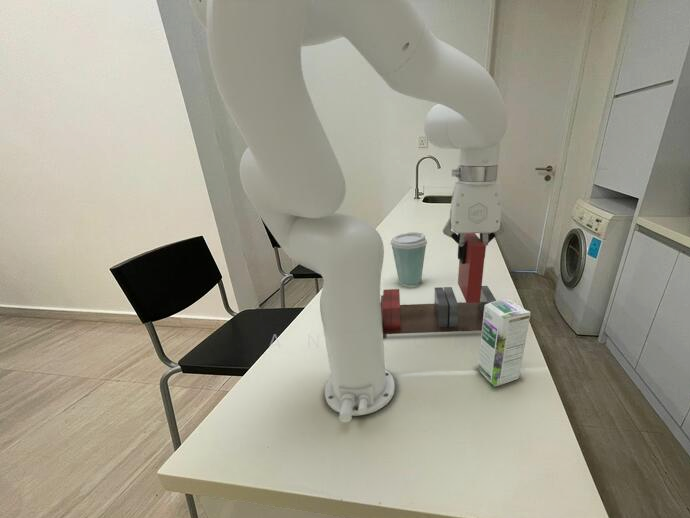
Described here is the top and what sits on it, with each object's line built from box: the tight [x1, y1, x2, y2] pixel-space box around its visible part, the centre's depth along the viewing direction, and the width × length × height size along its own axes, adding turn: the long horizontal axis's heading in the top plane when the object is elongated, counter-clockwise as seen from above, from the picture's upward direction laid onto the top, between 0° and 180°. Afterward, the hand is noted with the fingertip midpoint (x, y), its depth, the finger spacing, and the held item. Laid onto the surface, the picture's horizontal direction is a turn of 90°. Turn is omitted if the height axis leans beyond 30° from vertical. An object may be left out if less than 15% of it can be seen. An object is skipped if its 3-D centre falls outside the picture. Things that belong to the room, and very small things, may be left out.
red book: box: [457, 233, 487, 303], centre depth 75 cm, size 11×3×13 cm, turn 1°
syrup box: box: [477, 298, 531, 388], centre depth 60 cm, size 6×6×14 cm
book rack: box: [380, 285, 497, 339], centre depth 80 cm, size 14×28×7 cm, turn 91°
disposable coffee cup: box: [390, 231, 428, 286], centre depth 99 cm, size 11×11×15 cm
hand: (470, 261), depth 74 cm, fingers closed on red book, 3 cm apart
